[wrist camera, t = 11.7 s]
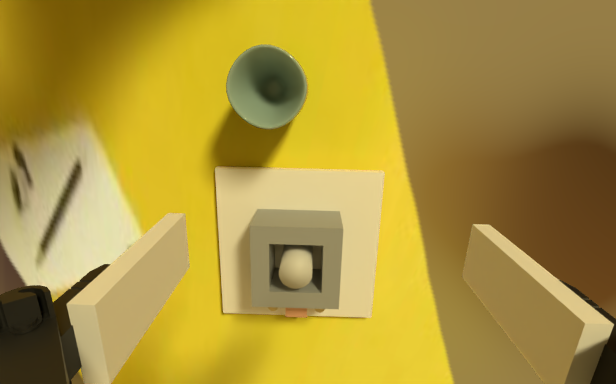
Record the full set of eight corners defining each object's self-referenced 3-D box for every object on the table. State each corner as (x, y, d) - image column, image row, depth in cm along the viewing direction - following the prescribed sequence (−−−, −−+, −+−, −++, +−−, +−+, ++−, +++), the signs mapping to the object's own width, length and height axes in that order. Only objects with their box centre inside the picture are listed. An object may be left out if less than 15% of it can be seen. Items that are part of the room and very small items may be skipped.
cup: (282, 133, 43) (273, 145, 34) (233, 93, 42) (209, 93, 32) (321, 85, 41) (323, 82, 32) (271, 41, 40) (258, 25, 31)
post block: (217, 166, 45) (196, 181, 37) (382, 170, 44) (397, 187, 37) (225, 307, 51) (208, 347, 43) (370, 312, 51) (380, 352, 43)
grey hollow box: (257, 208, 45) (249, 225, 39) (339, 211, 45) (343, 228, 39) (259, 305, 49) (252, 333, 43) (334, 307, 49) (337, 335, 43)
